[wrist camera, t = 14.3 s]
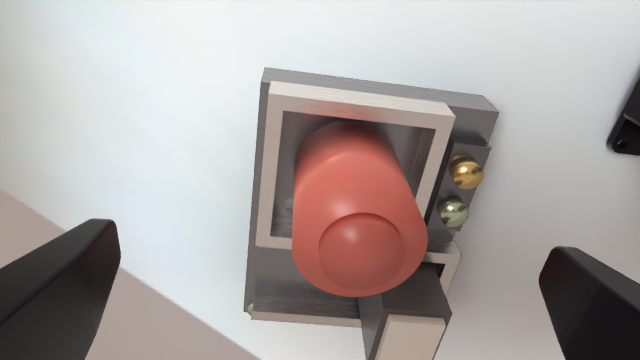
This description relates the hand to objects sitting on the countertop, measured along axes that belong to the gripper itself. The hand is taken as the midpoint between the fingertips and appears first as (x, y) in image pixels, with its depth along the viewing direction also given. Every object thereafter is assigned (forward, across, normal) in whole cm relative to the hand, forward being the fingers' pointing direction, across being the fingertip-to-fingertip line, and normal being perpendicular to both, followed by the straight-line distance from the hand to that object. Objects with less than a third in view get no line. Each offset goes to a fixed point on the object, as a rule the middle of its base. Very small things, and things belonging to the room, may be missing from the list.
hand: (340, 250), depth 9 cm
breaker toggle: (+10, -5, +10) cm, 15 cm away
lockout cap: (+10, -2, +4) cm, 11 cm away
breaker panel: (+12, -2, +7) cm, 14 cm away
